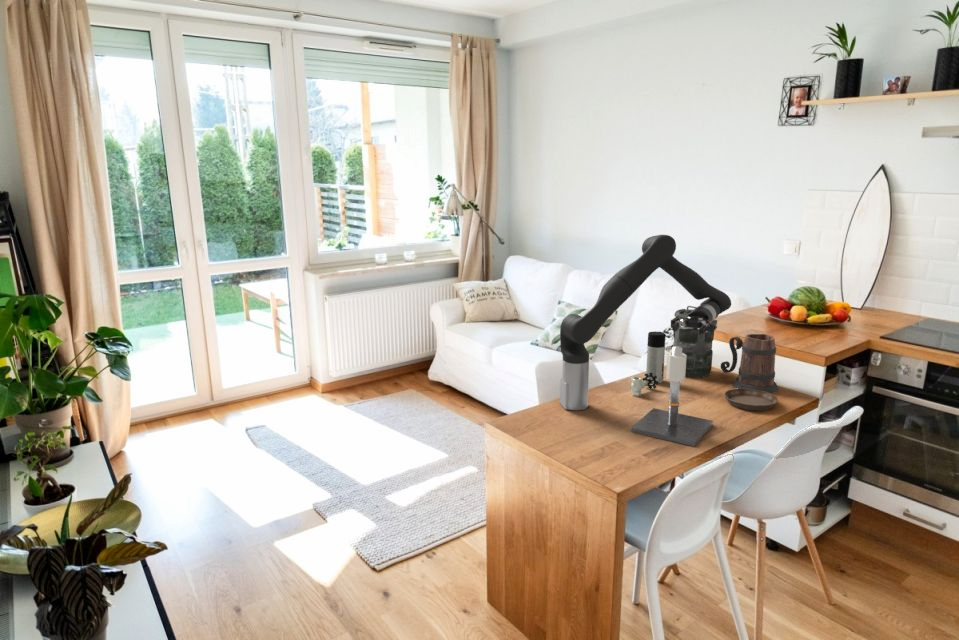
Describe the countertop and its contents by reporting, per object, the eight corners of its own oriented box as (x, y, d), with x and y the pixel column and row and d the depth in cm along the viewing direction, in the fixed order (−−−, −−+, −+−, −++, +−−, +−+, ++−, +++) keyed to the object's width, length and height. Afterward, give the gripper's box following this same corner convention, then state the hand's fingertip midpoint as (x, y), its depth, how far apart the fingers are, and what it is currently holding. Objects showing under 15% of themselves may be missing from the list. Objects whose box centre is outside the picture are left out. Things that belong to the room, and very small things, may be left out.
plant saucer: (713, 399, 224) (713, 391, 223) (750, 392, 230) (751, 385, 229) (749, 416, 208) (750, 408, 207) (788, 408, 214) (789, 400, 213)
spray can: (665, 384, 240) (668, 335, 235) (647, 384, 240) (650, 335, 235) (660, 378, 246) (663, 330, 242) (643, 378, 246) (646, 331, 242)
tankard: (788, 387, 234) (793, 337, 229) (763, 396, 225) (768, 344, 220) (733, 372, 253) (737, 325, 248) (708, 380, 244) (712, 332, 239)
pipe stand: (694, 446, 185) (700, 360, 178) (631, 431, 196) (634, 349, 190) (712, 424, 200) (718, 344, 194) (653, 412, 212) (657, 335, 205)
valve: (640, 398, 225) (658, 390, 233) (641, 381, 224) (659, 374, 232) (625, 394, 230) (643, 386, 238) (625, 377, 229) (644, 370, 236)
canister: (718, 372, 252) (723, 307, 246) (697, 381, 243) (702, 312, 236) (684, 364, 264) (689, 301, 258) (663, 371, 255) (667, 306, 248)
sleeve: (681, 382, 191) (682, 358, 189) (664, 379, 194) (665, 355, 192) (686, 377, 195) (688, 353, 193) (669, 374, 198) (671, 351, 196)
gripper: (681, 304, 215) (665, 317, 202) (723, 308, 207) (709, 321, 194) (681, 325, 217) (665, 338, 205) (723, 329, 209) (708, 343, 196)
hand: (686, 330), depth 199 cm, fingers open, 8 cm apart
